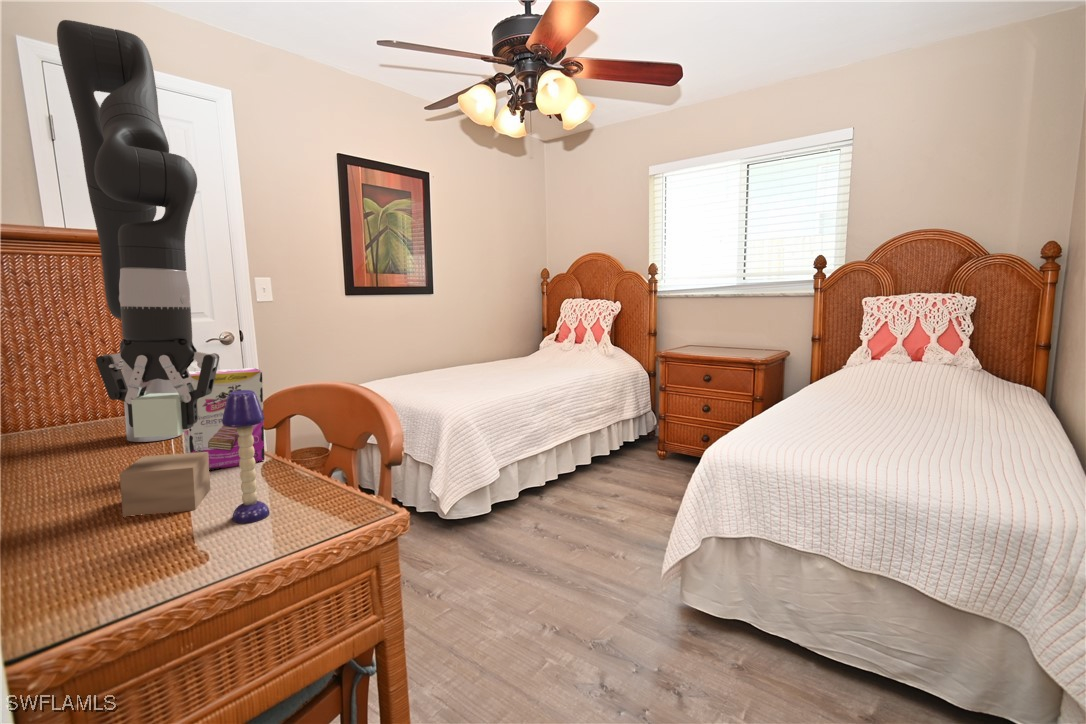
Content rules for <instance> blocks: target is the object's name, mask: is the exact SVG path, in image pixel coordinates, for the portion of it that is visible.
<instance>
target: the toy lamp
mask: <svg viewBox="0 0 1086 724" xmlns="http://www.w3.org/2000/svg"><path fill="white" fill-rule="evenodd" d="M264 420H265V415H264V411H263V412H262V409H261V406H260V404H259V401H258V399H257V396H256V394H255V392H254V391H252V390H239V391H234V392H230V393H229V394H228V397H227V400H226V405H225V410H224V414H223V419H222V424H223V425H224V426H226V427H237V433H238V435H239V437H238V445H239V446H240V448H239V457H240V458H241V459H240V463H239V465H238V466H239V469H240V474H239V478H240V480H241V484H240V487H241V488H240V489H241V492H242V494H241V501H242V503H241V504H239V505H237V507H236V508H235V509H234V511H233V513H232V518H231V519H232V521H233V522H234V523H238V524H247V523H248V524H249V523H254V522H258V521H261V520H263V519H265V518H267V517H268V516H269V515H270V510H269V509H270V508H269V507H268V505H267V504H266V503H265V502H263V501H260V500H258V497H259V496H258V492H257V487H258V484H257V483H258V482H257V481H256V477H257V472H256V469H255V467H256V462H255V459H254V457H253V456H254V453H255V451H254V447H253V446H252V445H253V443H254V438H253V435H252V432H253V426H252V425H256V424H260V423H261V422H263V421H264ZM264 422H265V421H264Z"/></svg>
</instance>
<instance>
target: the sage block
mask: <svg viewBox="0 0 1086 724" xmlns="http://www.w3.org/2000/svg"><path fill="white" fill-rule="evenodd" d="M182 402H183V401H182V400H181V398H180V396H179V394H178V393H152V394H147V395H144V396H141V397H138V398H135V399H133V400H132V414H133V429H134V437H156V436H178V435H180V434H182V433H183V434H184V432H185V431H187V430H189V429H183V428H182V416H181V403H182ZM191 428H192V427H191ZM183 434H182V435H183ZM180 436H181V435H180ZM178 437H179V436H178Z"/></svg>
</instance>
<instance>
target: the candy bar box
mask: <svg viewBox="0 0 1086 724" xmlns="http://www.w3.org/2000/svg"><path fill="white" fill-rule="evenodd" d="M188 371H189V373H190V375H191V377H192V380H193V385H194V387H195V389H197V385H198V380H199V376H200V371H201V370H192V371H190V370H188ZM184 376H185V375H184ZM263 386H264V385H263V371H262V370H261V369H258V368H255V367H245V368H244V367H243V368H230V369H227V368H226V369H217V371H216V376H215V380H214V385H213V389H212V392H211V393H210V394H208V395H206V396H204V397H201V398H199V399H198V400H197V410H198V420H197V422H196V423H195V424H194V425H193V427H192V428H190V429H189V430H187V431H185V432H183V434H184V437H183V438H184V453H197V452H208V456H209V470H210V471H214V469H216V470H220V469H219V468H221V469H226V468H231V467H238V466H240V465H239V463H240V459H241V458H240V457H239V448H240V446H239V445H238V437H239V435H238V433H237V427H226V426H224V425H223V424H222V419H223V414H224V410H225V405H226V400H227V397H228V394H229V393H230V392H234V391H239V390H252V391H254V392H255V394H256V396H257V399H258V401H259V404H260V406H261V409H262V412H263V413H264V394H263V391H264V390H263V388H264V387H263ZM264 424H265V421H263V422H261V423H260V424H256V425H252V426H253V432H252V435H253V438H254V443H253V445H252V446H253V447H254V451H255V453H254V456H253V457H254V459H255V463H259V462H258V461H261V462H263V461H262V460H264V461H265V428H264V427H265V425H264Z"/></svg>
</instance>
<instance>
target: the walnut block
mask: <svg viewBox="0 0 1086 724" xmlns="http://www.w3.org/2000/svg"><path fill="white" fill-rule="evenodd" d="M210 475H211V474H210V471H209V456H208V452H197V453H185V452H184V453H183V452H182V453H173V454H157V455H156V454H155V455H145V456H143V455H142V456H141V457H140V458H139V459H137V460H136V461H135V462H133V463H132V464H131V465H130V466H128V467H126V468H125V469H124V470H122V471H121V472H120V473H119V483H120V496H121V497H120V499H121V500H120V501H121V512H122V518H123V517H124V518H126V517H125V516H131V515H141V514H153V515H156V514H155V513H162V514H170V513H181V512H187V511H188V512H189V511H196V510H197V509H198V507H199V506H200V505H201V503H202V502H203V500H204V499H205V498H206V497H207V495H208V494H209V493H210V491H211V477H210ZM169 512H170V513H169Z"/></svg>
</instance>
